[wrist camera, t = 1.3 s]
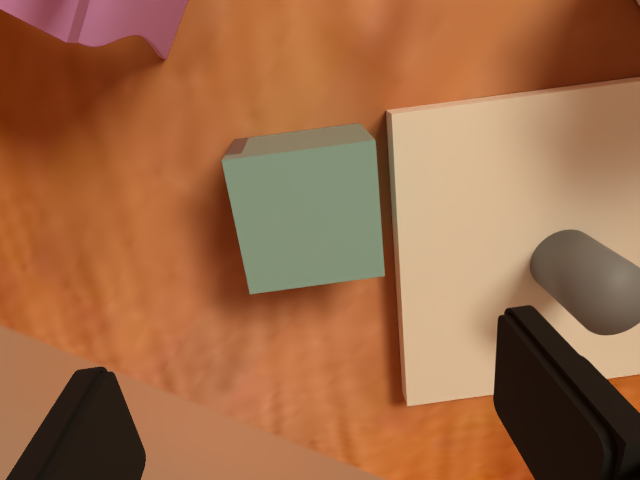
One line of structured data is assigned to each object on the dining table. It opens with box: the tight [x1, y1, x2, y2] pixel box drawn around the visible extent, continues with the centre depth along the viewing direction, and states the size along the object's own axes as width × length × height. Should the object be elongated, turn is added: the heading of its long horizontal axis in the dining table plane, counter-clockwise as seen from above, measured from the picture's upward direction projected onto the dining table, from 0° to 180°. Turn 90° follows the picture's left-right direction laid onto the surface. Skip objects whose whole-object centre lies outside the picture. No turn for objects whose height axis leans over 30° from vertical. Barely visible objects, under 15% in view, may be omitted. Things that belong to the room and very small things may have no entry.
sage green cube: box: [222, 123, 385, 294], centre depth 24 cm, size 7×7×5 cm
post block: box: [386, 77, 640, 406], centre depth 26 cm, size 20×20×6 cm
